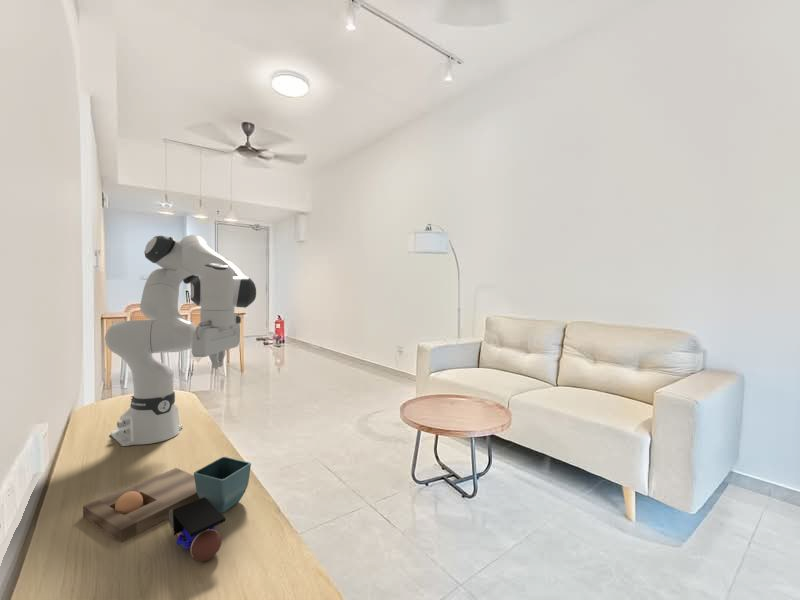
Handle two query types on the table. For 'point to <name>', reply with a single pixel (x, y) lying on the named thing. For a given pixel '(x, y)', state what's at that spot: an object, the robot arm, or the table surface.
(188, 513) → the figurine character
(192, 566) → the table surface
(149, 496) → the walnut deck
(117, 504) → the rubber ball
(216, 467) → the flower pot
